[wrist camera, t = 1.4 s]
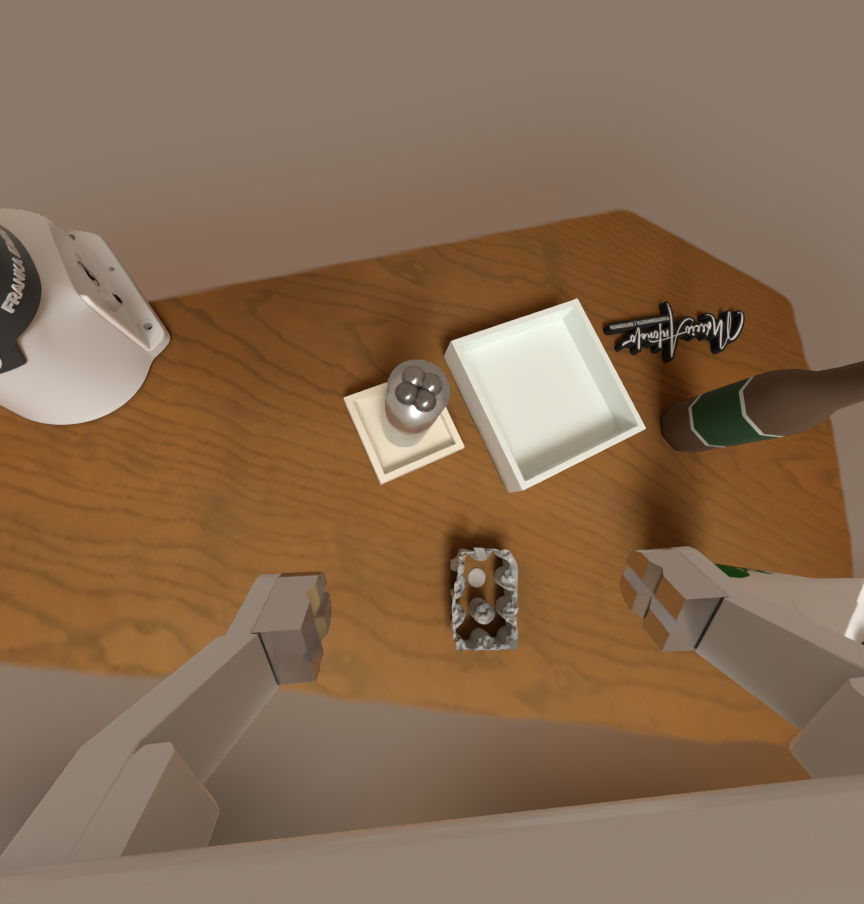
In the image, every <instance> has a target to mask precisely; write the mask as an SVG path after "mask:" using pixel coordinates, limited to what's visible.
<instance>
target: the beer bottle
mask: <svg viewBox="0 0 864 904" xmlns="http://www.w3.org/2000/svg"><path fill="white" fill-rule="evenodd" d="M861 401H864V361H862V362H858V363H854V364H850V365H847V366H843V367H839V368H833V369H828V370H822V371H809V370H799V369H786V370H774V371H770V372H766V373H763V374H759V375H756V376H753V377H750V378H747V379H744V380H741V381H739V382H736V383H733V384H730V385H727V386H724V387H721V388H719V389H716V390H713V391H710V392H707V393H704V394H702V395H699V396H696V397H693V398H690V399H687V400H685V401H682V402H680V403H677V404H675V405H672V407H671V408H670V409H669V410H668V411H667V412H666V413H665V414H664V416H663V417H662V418H661V423H662V433H663V437H664V438H665V439H666V440H667V441H668V442H669V444H670V445H671V446H672V447H673V448H674V449H675V450H677V451H688V452H698V451H706V450H712V449H717V448H723V447H728V446H734V445H739V444H745V443H750V442H756V441H762V440H767V439H773V438H778V437H784V436H788V435H792V434H796V433H800V432H804V431H806V430H808V429H810V428H812V427H814V426H816V425H818V424H820V423H822V422H823V421H824V420H826V419H827V418H828V417H829V416H830V415H831V414H833V413H834V412H835V411H836V410H838V409H841V408H844V407H847V406H850V405H852V404H855V403H858V402H861Z"/></svg>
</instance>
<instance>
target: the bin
mask: <svg viewBox="0 0 864 904" xmlns="http://www.w3.org/2000/svg"><path fill="white" fill-rule="evenodd" d="M444 358H445V360H446V363H447V365H448V367H449V369H450V371H451V373H452V375H453V377H454V379H455V382H456V384H457V386H458V388H459V390H460V392H461V394H462V396H463V398H464V401H465V403H466V405H467V407H468V409H469V411H470V413H471V415H472V417H473V420H474V422H475V424H476V426H477V428H478V430H479V432H480V434H481V436H482V439H483V441H484V443H485V445H486V447H487V449H488V451H489V453H490V455H491V458H492V460H493V462H494V464H495V466H496V468H497V470H498V472H499V474H500V477H501V479H502V481H503V483H504V485H505V487H506V489H507V491H508V493H509V492H516V491H523V490H525V489H527V488H529V487H531V486H533V485H535V484H537V483H539V482H541V481H543V480H545V479H547V478H549V477H551V476H553V475H555V474H557V473H559V472H561V471H563V470H565V469H567V468H569V467H571V466H573V465H575V464H577V463H579V462H581V461H583V460H585V459H587V458H589V457H591V456H593V455H594V454H596V453H598V452H600V451H602V450H604V449H606V448H608V447H610V446H612V445H614V444H616V443H618V442H620V441H622V440H624V439H626V438H628V437H630V436H632V435H634V434H636V433H638V432H640V431H642V430H644V429H646V428H645V426H644V424H643V422H642V420H641V418H640V416H639V414H638V412H637V411H636V409H635V407H634V405H633V403H632V401H631V399H630V397H629V395H628V393H627V392H626V390H625V388H624V386H623V384H622V382H621V380H620V378H619V376H618V374H617V373H616V371H615V369H614V367H613V365H612V363H611V361H610V359H609V357H608V355H607V354H606V352H605V350H604V348H603V346H602V344H601V342H600V340H599V338H598V337H597V335H596V333H595V331H594V329H593V327H592V325H591V323H590V321H589V319H588V318H587V316H586V314H585V312H584V310H583V308H582V306H581V304H580V302H579V300H578V299H575V300H572V301H569V302H566V303H563V304H560V305H557V306H554V307H551V308H548V309H545V310H542V311H539V312H536V313H533V314H530V315H527V316H524V317H521V318H518V319H515V320H512V321H509V322H506V323H503V324H500V325H497V326H494V327H491V328H488V329H485V330H482V331H479V332H476V333H473V334H470V335H467V336H464V337H462V338H459V339H456V340H453V341H451V342H450V344H449V346H448V348H447V351H446V353H445V355H444Z"/></svg>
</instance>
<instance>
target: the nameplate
mask: <svg viewBox="0 0 864 904" xmlns="http://www.w3.org/2000/svg"><path fill="white" fill-rule="evenodd" d="M659 309H660V312H661V315H660V316H654V317H647V318H641V319H635V320H629V321H623V322H617V323H610V324H609V325H608V326H606V327H605V328H604V329H603V332H604V334H606V335H612V334H618V333H624V332H629V331H630V333H629V335H627V336H626V337H624V338H623V341H622V342H620V343H619V344H617V345H616V346H615V351H616V352H618V351H620V350H622V349H623V348H625V347H626V348H630V353H631V354H632V355H636V354H637V353H639V352H641V350H642V347H644V348H651V352H652V353H654V354H655V353H657V352H659V351H661V350H662V358H663V362H665V363H667V362H668V361H670V360H672V359H674V355H675V351H676V346H677V342H678V339H679V338H680V339H684V340H685V341H689V340H691V339H693V338H695V337H696V338H697V339H698V341H702V340H704V339H706V340H707V341H710V340H711V352H712V353H713V354H717V353H719V352H721V351H723V350H724V349H725V348H726V346H727V344H730V343H732V342H734V341H735V340H736V339H737V338H738V337H739V335H740V334H741V331H742V329H743V326H744V321H745V316H744V313H743V312H742V311H741V310H737V311H736V312H734V313H731V311H730V310H727V311H725V312H723V313H722V314H720V316H719V319H717V320H716V318H715V317H714V315H713V314H711V313H704V314H702V315H701V316H699V317H698V318H697V319H698V321H703V322H699V323H695V320H694V318H692V317H690V316H686V317H684V318H683V319H681V320H679V321H678V322H676V323H675V324H674V316H673V311H672V308H671V306H670V304H669V302H667V301H665V302H664V303H662V304H661V305H660V306H659ZM693 323H695V324H693ZM647 328H651V330H650V331H648V332H642V331H641V329H647Z"/></svg>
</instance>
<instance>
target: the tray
mask: <svg viewBox="0 0 864 904" xmlns="http://www.w3.org/2000/svg"><path fill="white" fill-rule="evenodd" d="M387 383H388V382H386V383H384V384H381V385H378V386H375V387H372V388H369V389H366V390H364V391H361V392H358V393H355V394H352V395H349V396H347V397H344V402H345V405H346V407H347V409H348V412H349V414H350V416H351V419H352V421H353V423H354V426H355V428H356V430H357V432H358V435H359V437H360V439H361V442H362V444H363V446H364V449H365V451H366V453H367V455H368V458H369V460H370V462H371V465H372V467H373V469H374V472H375V474H376V476H377V478H378V481H379V483H380V485H382V484H384V483H386V482H389V481H391V480H393V479H396V478H398V477H400V476H403V475H405V474H407V473H409V472H412V471H414V470H416V469H419V468H421V467H423V466H425V465H428V464H430V463H432V462H435V461H437V460H439V459H441V458H444V457H446V456H448V455H451V454H453V453H455V452H457V451H460V450H461V449H463V448H464V445H463V443H462V441H461V438H460V436H459V434H458V432H457V430H456V428H455V426H454V423H453V421H452V419H451V417H450V415H449V413H448V410H447V408H446V407H445V408H444V410H443V411H442V412H441V414H440V415H439V417H438V418H437V419H436V421H435V422H434V424H433V425H432V426H431V428H430V429H429V430H428V432H427V433H426V435H425V436H424V437H423V439H422V440H421V441H420V442H419V443H418V444H416V445H414V446H411V447H398V446H396V445H394V444H392V443H391V442H389V441H388V440H387V438H386V437H385V435H384V433H383V430H382V419H383V412H384V405H385V397H386V390H387Z"/></svg>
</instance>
